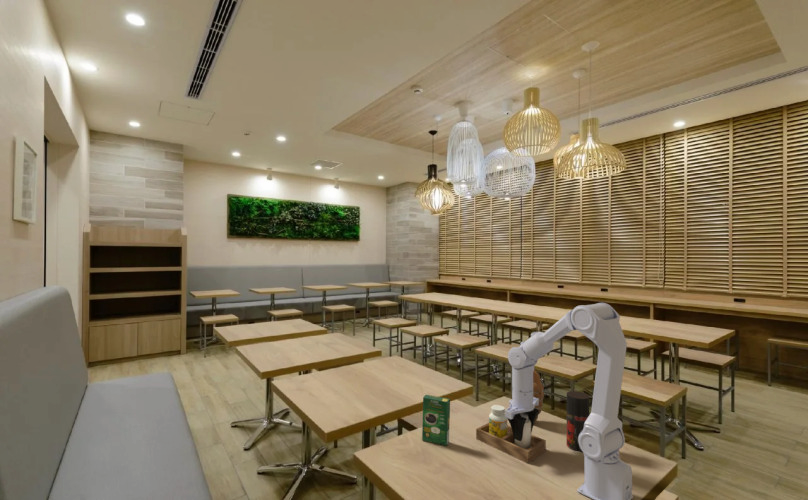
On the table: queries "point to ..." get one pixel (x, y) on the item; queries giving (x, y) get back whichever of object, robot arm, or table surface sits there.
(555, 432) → the table surface
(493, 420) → the supplement bottle
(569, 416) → the deodorant
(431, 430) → the coffee box
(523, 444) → the shaker
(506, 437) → the caddy
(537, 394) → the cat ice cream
